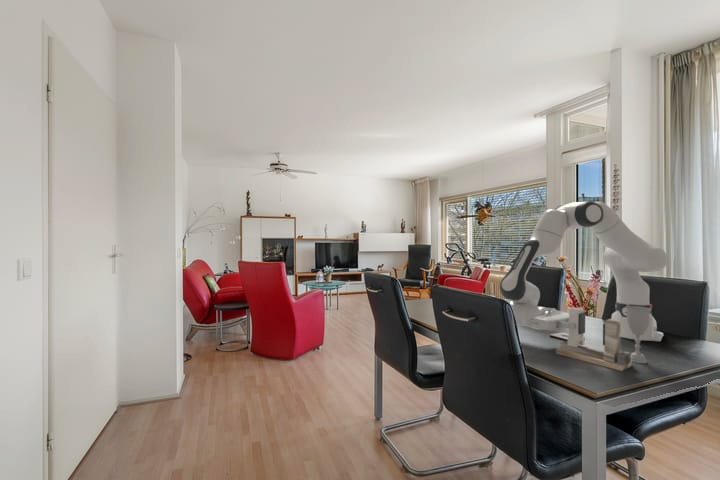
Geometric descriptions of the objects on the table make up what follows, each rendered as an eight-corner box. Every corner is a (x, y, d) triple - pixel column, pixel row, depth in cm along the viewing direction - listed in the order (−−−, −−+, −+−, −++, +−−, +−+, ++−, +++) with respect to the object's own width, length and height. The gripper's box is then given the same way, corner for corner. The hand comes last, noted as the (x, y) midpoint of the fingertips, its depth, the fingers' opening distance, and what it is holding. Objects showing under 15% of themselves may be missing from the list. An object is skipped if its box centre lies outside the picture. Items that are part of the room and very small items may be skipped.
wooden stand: (567, 349, 130) (567, 310, 130) (631, 366, 113) (632, 321, 113) (556, 353, 125) (556, 313, 125) (621, 371, 109) (622, 324, 109)
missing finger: (575, 342, 126) (575, 307, 126) (586, 345, 123) (586, 308, 123) (567, 345, 123) (568, 308, 123) (578, 347, 120) (579, 310, 120)
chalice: (619, 357, 122) (619, 305, 122) (637, 356, 123) (638, 305, 123) (637, 364, 115) (637, 309, 115) (656, 364, 115) (657, 309, 115)
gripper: (525, 312, 128) (564, 320, 117) (553, 307, 140) (592, 313, 128) (524, 329, 128) (564, 338, 117) (553, 323, 140) (591, 330, 128)
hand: (579, 325), depth 123 cm, fingers closed on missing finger, 4 cm apart
